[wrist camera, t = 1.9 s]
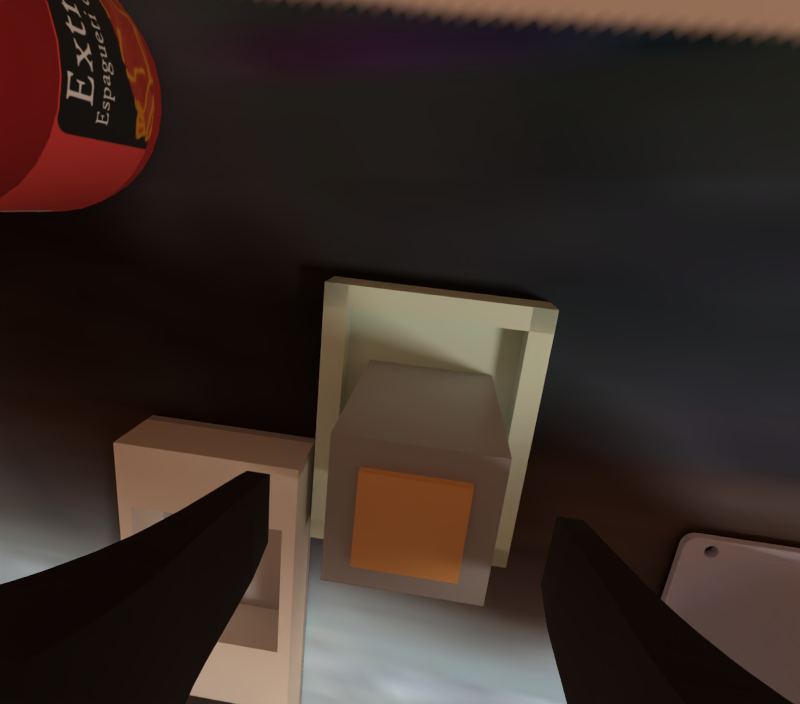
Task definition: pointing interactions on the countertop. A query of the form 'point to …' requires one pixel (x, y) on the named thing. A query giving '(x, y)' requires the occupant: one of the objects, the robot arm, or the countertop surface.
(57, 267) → the countertop surface
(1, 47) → the canned food
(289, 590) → the power strip
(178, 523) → the robot arm
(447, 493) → the plug
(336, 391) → the tray
